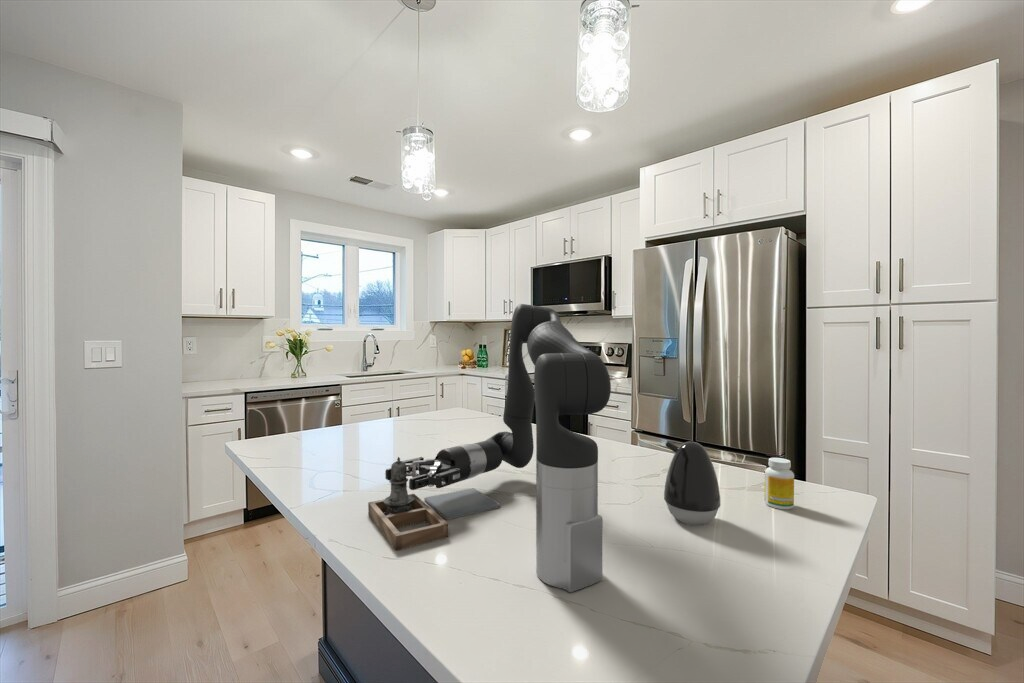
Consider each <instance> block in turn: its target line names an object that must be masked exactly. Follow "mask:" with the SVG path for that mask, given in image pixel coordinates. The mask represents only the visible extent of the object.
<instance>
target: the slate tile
mask: <svg viewBox="0 0 1024 683" xmlns="http://www.w3.org/2000/svg"><path fill="white" fill-rule="evenodd" d="M424 500H425V501H426V502H425V501H424ZM423 501H424V502H425V503H426V504H427V505H428V506H429V507H430V508H432V507H433V508H432V509H433V510H434V511H435V512H436V513H437V514H438V515H439V516H440V515H441V516H442V518H443V519H444V520H445V521H446V520H450V519H451V518H452V519H456V518H460V517H464V516H469V515H473V514H477V513H480V512H486V511H490V510H494V509H498V508H501V504H500V503H498V502H497V501H495V500H494V499H492V498H490V497H489V496H487V495H486V494H484V493H482V492H481V491H480V490H477V489H476V488H475V487H472V488H467V489H462V490H456V491H452V492H447V493H442V494H435V495H432V496H427V497H424V498H423ZM452 519H451V520H452Z"/></svg>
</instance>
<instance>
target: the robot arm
mask: <svg viewBox="0 0 1024 683" xmlns="http://www.w3.org/2000/svg"><path fill="white" fill-rule="evenodd" d="M510 323H511V324H510V336H509V347H508V348H509V351H508V373H507V374H508V376H507V377H508V379H507V390H506V398H505V402H504V403H505V404H504V410H503V417H502V421H503V423H504V424H505V426H507V427H508V429H510V431H499V432H497V433H494V434H493V435H492V436H490V437H489V438H487V439H486V440H483V441H478V442H474V443H465V444H461V445H457V446H452V447H448V448H442V449H440V450H439V451H438V452H437V454H436V456H435V458H426V459H424V458H425V457H422V456H420V457H415V458H409V459H405V460H400V461H401V462H404V463H405V464H406V477H410V478H409V479H408V488H409V490H411V491H415V490H418V489H422V488H425V487H428V488H431V487H434V486H435V488H436V489H441V488H444V487H448V486H450V485H454V484H456V483H458V482H462V481H465V480H470V479H472V478H475V477H477V476H479V475H482V474H484V473H488V472H491V471H494V470H496V469H498V468H499V467H500V466H501V465H502V463H503V462H504V463H506V464H509V465H510V466H512V467H514V468H517V469H523V468H525V467H526V466H528V465H529V463H530V462H531V461H532V458H533V454H534V436H533V426H532V425H533V424H532V418H533V413H534V409H535V423H536V425H535V426H536V428H535V430H536V431H535V434H536V435H535V436H536V443H535V444H536V446H535V447H536V453H535V454H536V456H535V462H536V463H535V464H536V465H535V466H536V467H535V468H536V470H535V472H536V474H535V477H536V478H535V480H536V482H535V490H536V491H535V494H536V495H535V499H536V500H535V506H536V507H535V512H536V513H535V514H536V516H535V519H536V520H535V522H536V524H535V526H536V527H535V529H536V532H535V533H536V534H535V536H536V537H535V539H536V540H535V547H536V549H535V550H536V560H535V561H536V565H535V566H536V576H537V577H538V578H539V579H540V581H542V582H543V583H545V584H547V585H549V586H552V587H555V588H559V589H563V590H566V591H567V592H569V593H573V592H575V591H578V590H581V589H583V588H587V587H589V586H592V585H594V584H596V583H599V582H602V581H603V516H602V515H600V514H599V507H598V506H599V505H598V502H599V498H598V497H599V493H598V492H599V488H598V483H599V482H598V481H599V469H598V468H599V464H598V463H599V447H598V443H597V442H596V441H595V440H594V439H592V438H591V437H589V436H586V435H583V434H580V433H577V432H575V431H572V430H569V429H568V428H566V427H565V426H563V425H562V424H561V423H560V421H559V416H560V415H561V416H567V415H569V416H573V415H575V416H578V415H579V416H580V415H586V416H587V415H591V414H597V413H600V412H601V411H603V409H604V408H605V407H606V406H607V404H608V403H609V400H610V397H611V394H612V393H611V392H612V387H611V386H612V385H611V382H612V381H611V378H610V374H609V371H608V369H607V366H606V364H605V362H604V361H603V359H602V358H601V357H600V356H599V355H598V354H597V353H596V352H593V351H592V350H590V349H588V348H586V347H585V346H584V345H582V344H581V343H580V342H579V341H578V340H577V339H576V338H575V337H574V335H573V334H572V333H571V332H570V331H569V330H568V329H567V328H566V327H565V326H564V325H563V323H562V321H561V318H560V315H559V314H558V312H557V311H556V310H555V309H553V308H550V307H546V306H541V305H540V306H538V305H534V304H533V305H532V304H524V303H519V304H518V305H516V307H515V308H514V311H513V314H512V318H511V322H510ZM523 344H526V349H527V353H528V356H529V358H530V361H531V362H532V363H533V365H534V374H533V381H532V379H531V377H530V374H529V372H528V370H527V367H526V365H525V362H524V358H523V357H524V356H523ZM533 384H534V385H533ZM534 407H535V408H534ZM417 471H418V473H417ZM384 475H385V478H384V479H385V480H387V481H389V480H390V479H391V467H389V468H386V469H385V473H384Z"/></svg>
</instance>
